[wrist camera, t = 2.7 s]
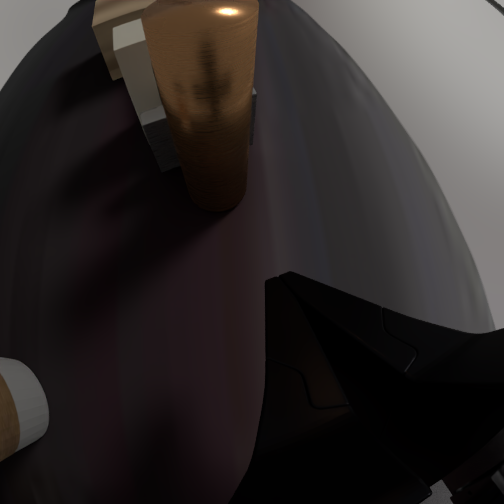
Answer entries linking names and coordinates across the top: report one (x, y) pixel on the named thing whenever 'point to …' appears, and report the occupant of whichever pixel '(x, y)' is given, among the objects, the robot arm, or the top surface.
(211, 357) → the top surface
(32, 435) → the coffee cup
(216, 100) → the shaft
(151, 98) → the spacer
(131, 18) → the bearing block
